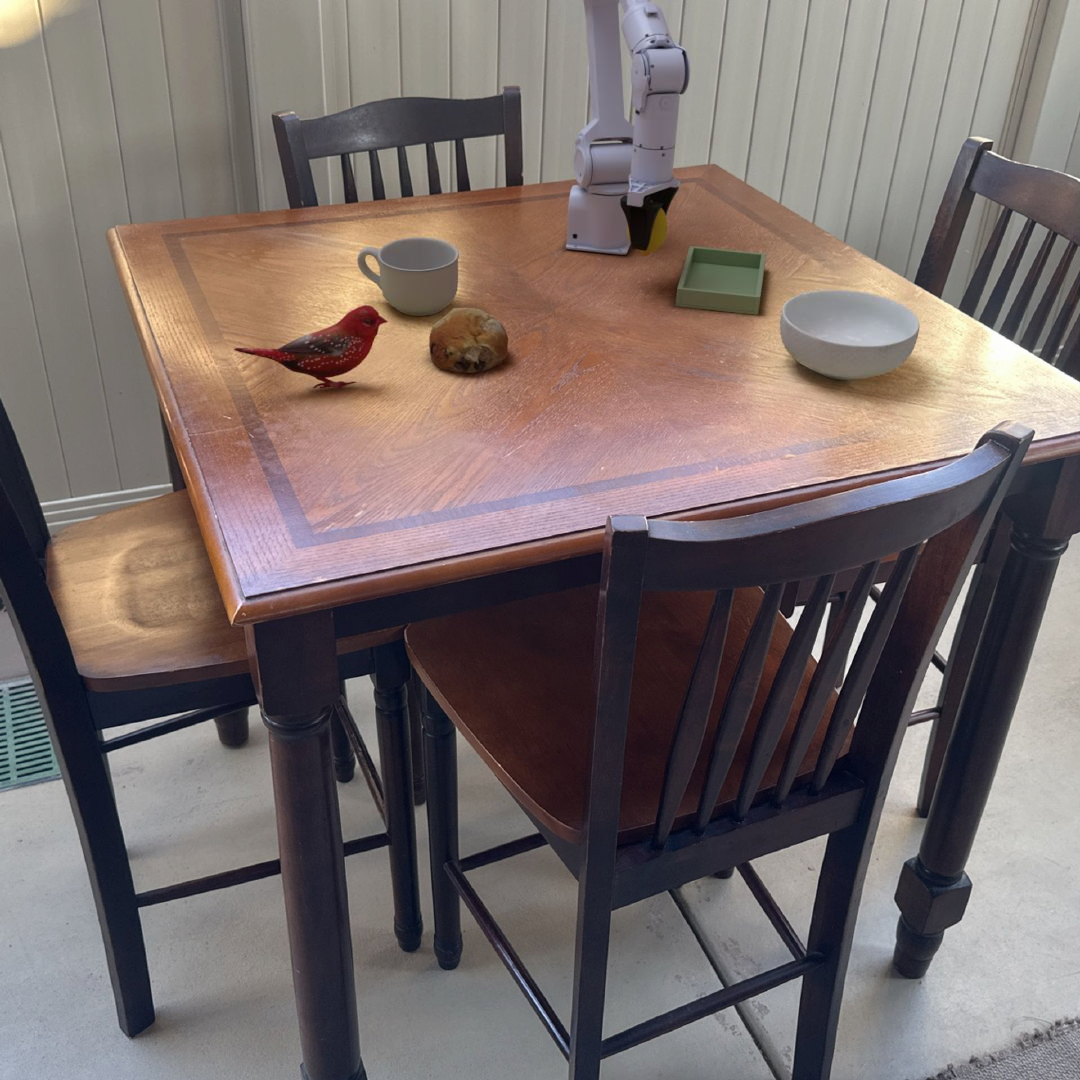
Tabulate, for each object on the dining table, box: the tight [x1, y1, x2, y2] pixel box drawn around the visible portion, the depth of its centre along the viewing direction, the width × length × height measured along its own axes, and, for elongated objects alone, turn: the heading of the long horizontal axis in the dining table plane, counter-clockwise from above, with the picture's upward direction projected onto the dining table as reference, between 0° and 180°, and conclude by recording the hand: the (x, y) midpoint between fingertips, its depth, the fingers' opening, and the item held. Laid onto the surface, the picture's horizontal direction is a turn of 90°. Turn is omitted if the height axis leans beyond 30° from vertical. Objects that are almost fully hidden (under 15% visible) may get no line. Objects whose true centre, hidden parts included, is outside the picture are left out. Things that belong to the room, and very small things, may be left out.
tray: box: [675, 245, 767, 316], centre depth 163 cm, size 11×17×3 cm, turn 168°
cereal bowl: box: [779, 289, 920, 381], centre depth 141 cm, size 17×17×7 cm
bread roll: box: [428, 307, 509, 374], centre depth 141 cm, size 10×10×8 cm
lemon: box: [627, 200, 668, 257], centre depth 159 cm, size 6×6×8 cm
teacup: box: [356, 236, 460, 317], centre depth 153 cm, size 14×11×8 cm
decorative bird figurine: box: [233, 304, 388, 389], centre depth 131 cm, size 3×18×10 cm, turn 107°
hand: (645, 242), depth 160 cm, fingers closed on lemon, 5 cm apart
